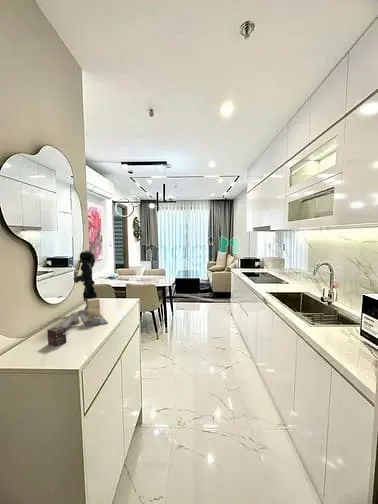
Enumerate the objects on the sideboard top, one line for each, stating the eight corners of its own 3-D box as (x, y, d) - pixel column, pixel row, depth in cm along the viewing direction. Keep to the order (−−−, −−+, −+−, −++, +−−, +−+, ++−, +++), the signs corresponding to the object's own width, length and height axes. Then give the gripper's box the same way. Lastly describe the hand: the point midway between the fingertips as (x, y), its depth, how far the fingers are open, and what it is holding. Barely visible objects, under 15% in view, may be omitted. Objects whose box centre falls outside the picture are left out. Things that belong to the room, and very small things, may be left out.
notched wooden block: (88, 319, 180) (87, 299, 179) (98, 317, 182) (97, 298, 182) (89, 321, 175) (88, 301, 174) (100, 319, 178) (99, 299, 177)
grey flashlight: (51, 328, 154) (71, 309, 179) (53, 340, 155) (72, 320, 180) (61, 328, 154) (79, 309, 179) (63, 340, 155) (81, 320, 180)
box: (55, 346, 138) (54, 331, 138) (47, 344, 141) (46, 329, 141) (66, 342, 143) (65, 327, 143) (59, 340, 146) (58, 325, 146)
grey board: (79, 315, 194) (79, 309, 194) (98, 312, 199) (98, 307, 199) (86, 326, 167) (85, 320, 167) (107, 323, 173) (107, 317, 172)
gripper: (72, 270, 201) (73, 293, 201) (75, 273, 184) (76, 298, 185) (89, 269, 206) (90, 291, 206) (94, 271, 189) (95, 295, 190)
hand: (88, 294), depth 197 cm, fingers closed
